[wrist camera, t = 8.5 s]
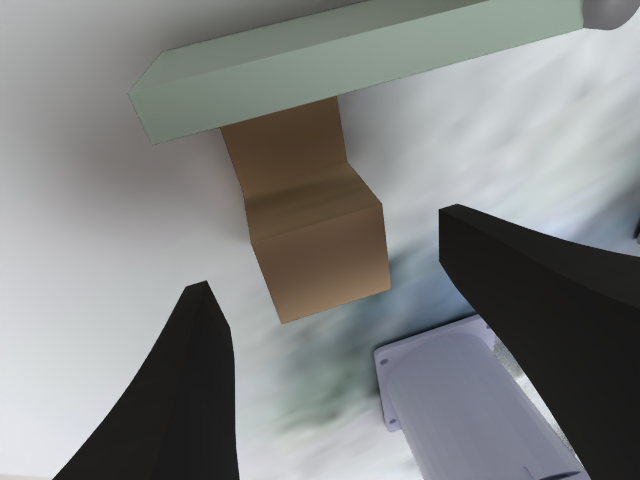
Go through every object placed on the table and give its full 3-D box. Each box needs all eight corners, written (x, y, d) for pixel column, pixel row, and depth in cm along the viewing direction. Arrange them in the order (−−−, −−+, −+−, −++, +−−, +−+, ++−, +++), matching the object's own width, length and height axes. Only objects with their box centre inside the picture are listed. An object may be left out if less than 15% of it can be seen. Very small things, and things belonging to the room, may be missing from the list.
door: (177, 86, 13) (152, 155, 7) (161, 47, 12) (121, 91, 6) (467, 11, 13) (637, 23, 8) (469, -30, 13) (656, -46, 7)
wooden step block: (348, 219, 17) (391, 288, 13) (264, 244, 17) (281, 324, 13) (324, 83, 14) (372, 121, 10) (217, 112, 13) (221, 163, 9)
